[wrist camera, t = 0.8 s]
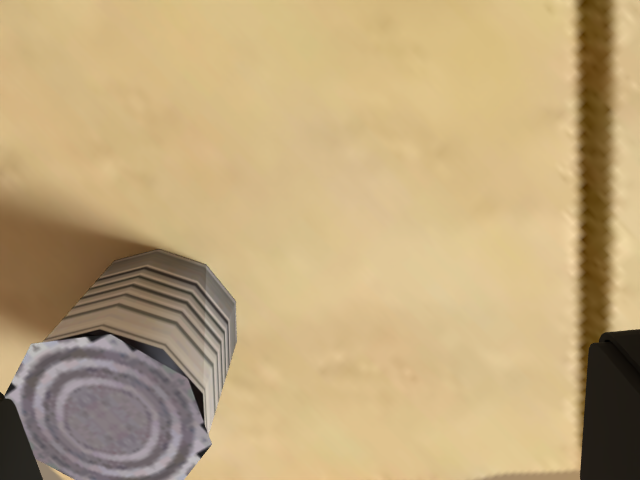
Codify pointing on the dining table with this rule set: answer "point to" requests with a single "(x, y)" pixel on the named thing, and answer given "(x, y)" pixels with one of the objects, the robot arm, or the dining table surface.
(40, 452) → the can
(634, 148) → the dining table surface
